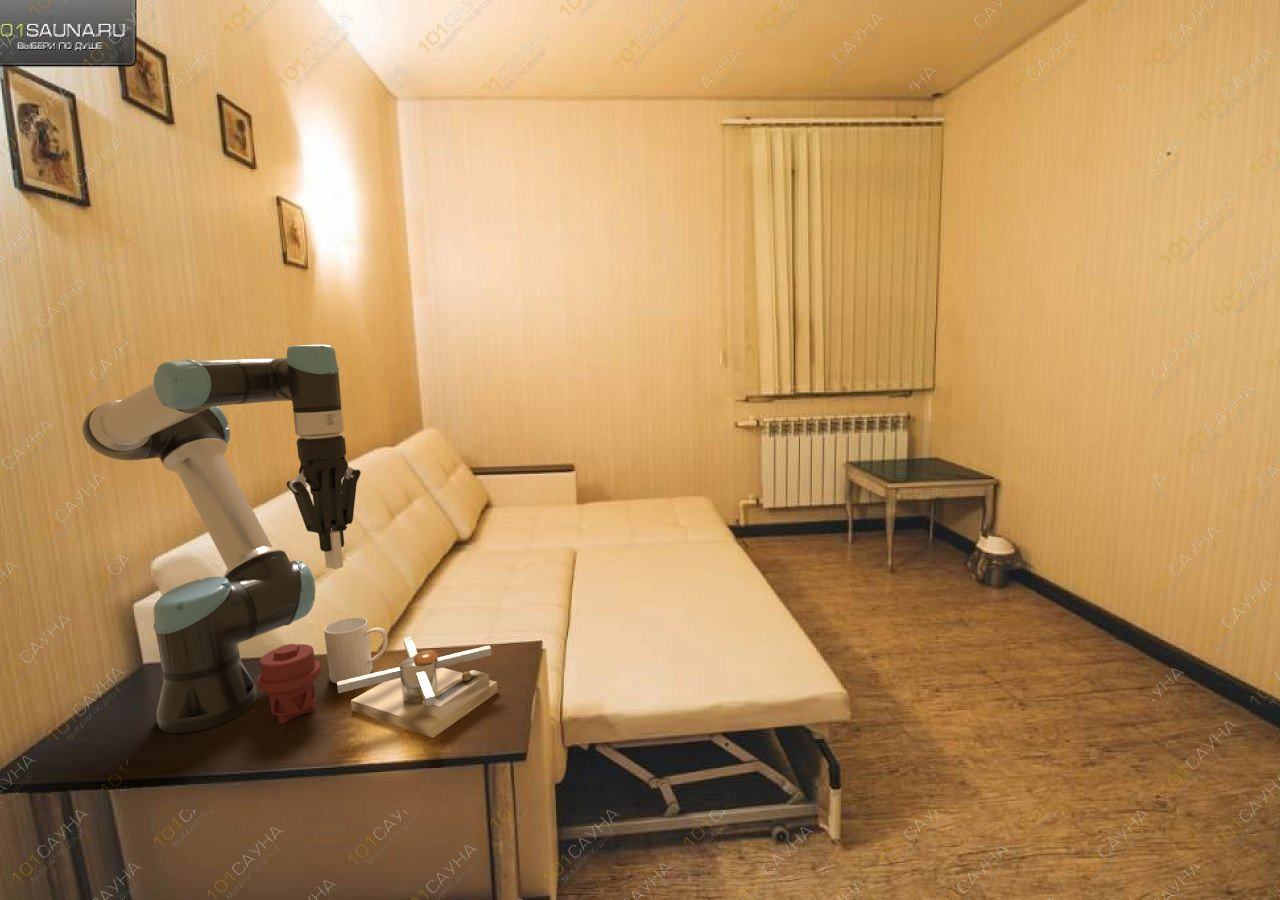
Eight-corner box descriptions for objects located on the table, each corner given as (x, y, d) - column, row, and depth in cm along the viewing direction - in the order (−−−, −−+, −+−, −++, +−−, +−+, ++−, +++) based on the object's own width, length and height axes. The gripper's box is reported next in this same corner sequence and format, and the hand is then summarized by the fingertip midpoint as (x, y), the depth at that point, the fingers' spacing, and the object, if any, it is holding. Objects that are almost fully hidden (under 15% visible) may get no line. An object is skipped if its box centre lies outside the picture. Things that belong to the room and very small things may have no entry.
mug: (321, 684, 126) (315, 633, 125) (344, 665, 134) (338, 616, 132) (380, 685, 125) (375, 633, 123) (400, 665, 133) (395, 617, 131)
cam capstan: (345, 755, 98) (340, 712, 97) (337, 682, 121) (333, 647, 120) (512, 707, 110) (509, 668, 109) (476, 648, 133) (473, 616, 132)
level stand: (352, 710, 116) (348, 678, 115) (420, 671, 130) (417, 642, 129) (433, 737, 106) (429, 703, 106) (497, 691, 120) (495, 660, 119)
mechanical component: (337, 700, 120) (299, 731, 110) (290, 697, 122) (248, 727, 112) (330, 637, 118) (290, 663, 108) (282, 635, 120) (239, 660, 110)
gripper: (298, 441, 104) (314, 581, 108) (367, 431, 115) (379, 558, 119) (270, 439, 108) (286, 575, 111) (339, 430, 119) (352, 553, 122)
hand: (334, 566), depth 115 cm, fingers closed
